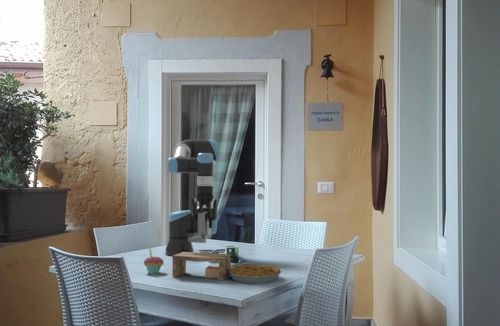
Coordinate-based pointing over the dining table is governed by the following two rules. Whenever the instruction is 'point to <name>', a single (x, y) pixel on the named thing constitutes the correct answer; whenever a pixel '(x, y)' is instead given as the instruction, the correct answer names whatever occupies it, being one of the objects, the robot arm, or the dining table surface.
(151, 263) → the cupcake
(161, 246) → the dining table surface
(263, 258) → the dining table surface
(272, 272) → the pie
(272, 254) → the dining table surface
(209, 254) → the shelf
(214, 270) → the block
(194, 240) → the hook tool
